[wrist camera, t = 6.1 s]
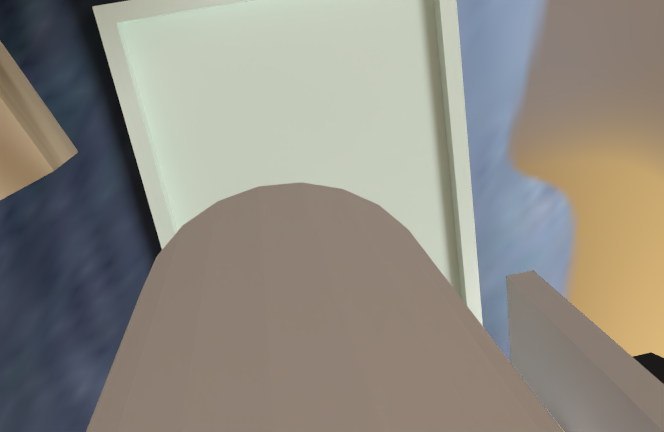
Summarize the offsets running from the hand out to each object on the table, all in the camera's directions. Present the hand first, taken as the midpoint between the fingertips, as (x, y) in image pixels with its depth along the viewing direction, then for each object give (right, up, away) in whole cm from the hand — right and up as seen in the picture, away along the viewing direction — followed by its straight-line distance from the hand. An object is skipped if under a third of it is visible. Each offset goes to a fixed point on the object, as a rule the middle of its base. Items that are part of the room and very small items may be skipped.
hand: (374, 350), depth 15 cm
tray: (-2, +5, +15) cm, 16 cm away
